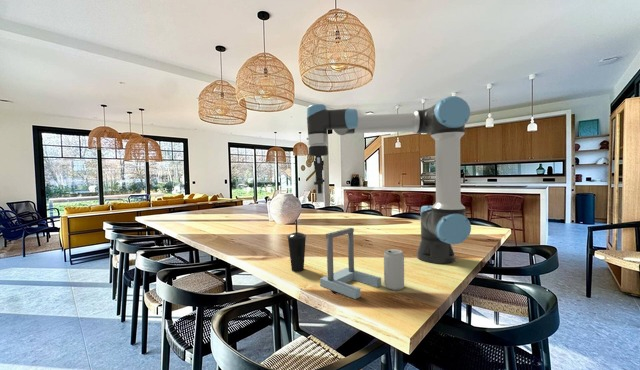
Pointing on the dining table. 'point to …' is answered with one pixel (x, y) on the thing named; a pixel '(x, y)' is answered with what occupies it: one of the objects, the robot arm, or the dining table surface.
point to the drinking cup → (297, 250)
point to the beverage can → (394, 269)
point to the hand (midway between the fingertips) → (320, 199)
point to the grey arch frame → (345, 275)
